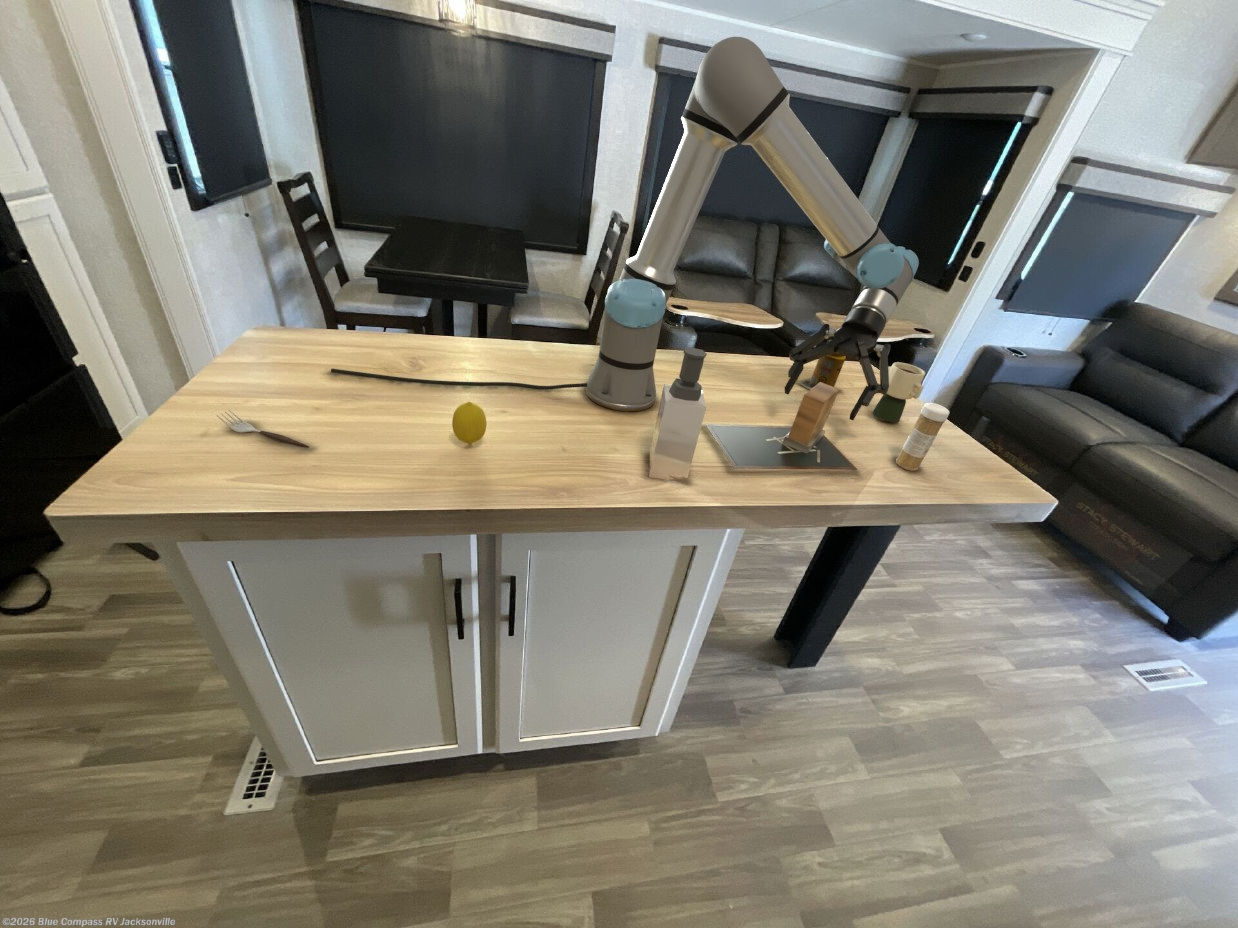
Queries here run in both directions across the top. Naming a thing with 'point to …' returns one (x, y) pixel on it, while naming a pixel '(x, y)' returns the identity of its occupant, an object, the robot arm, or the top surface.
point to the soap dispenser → (679, 420)
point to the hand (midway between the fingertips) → (818, 404)
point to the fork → (248, 428)
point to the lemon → (469, 422)
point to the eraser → (811, 418)
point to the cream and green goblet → (899, 391)
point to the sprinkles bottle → (922, 436)
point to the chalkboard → (773, 449)
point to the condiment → (826, 370)
